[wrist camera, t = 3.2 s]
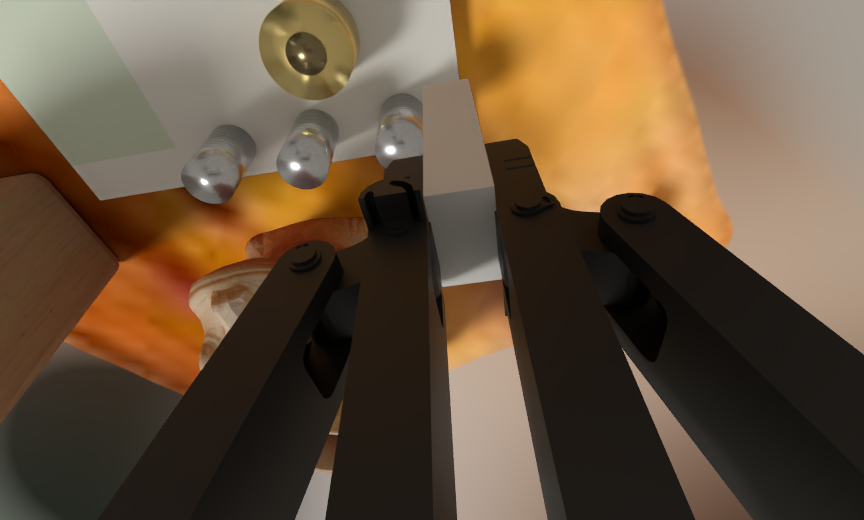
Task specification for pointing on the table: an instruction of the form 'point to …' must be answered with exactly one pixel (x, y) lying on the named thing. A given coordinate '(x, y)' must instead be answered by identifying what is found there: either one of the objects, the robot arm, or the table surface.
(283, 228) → the ceramic vessel
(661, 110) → the table surface
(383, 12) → the board
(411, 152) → the spacers
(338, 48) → the brass round knob
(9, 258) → the wooden block
